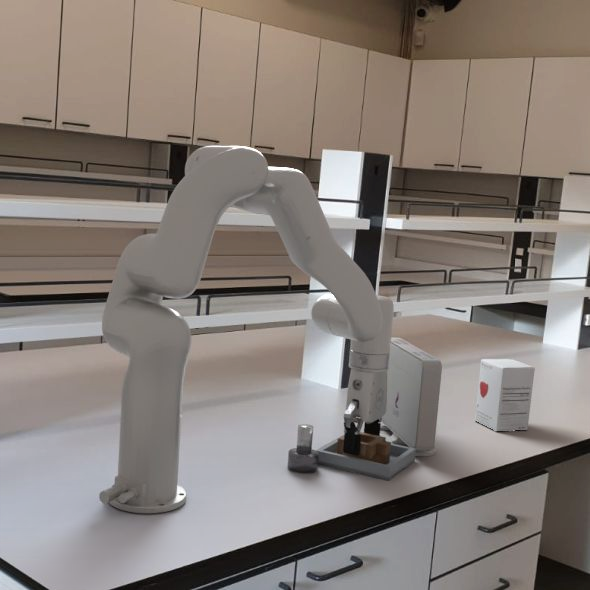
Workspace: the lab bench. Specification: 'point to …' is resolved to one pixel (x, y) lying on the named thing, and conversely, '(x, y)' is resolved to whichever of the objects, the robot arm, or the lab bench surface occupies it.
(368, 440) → the collar
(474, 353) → the lab bench surface
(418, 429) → the network device
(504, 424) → the supplement box
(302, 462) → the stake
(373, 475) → the tray
